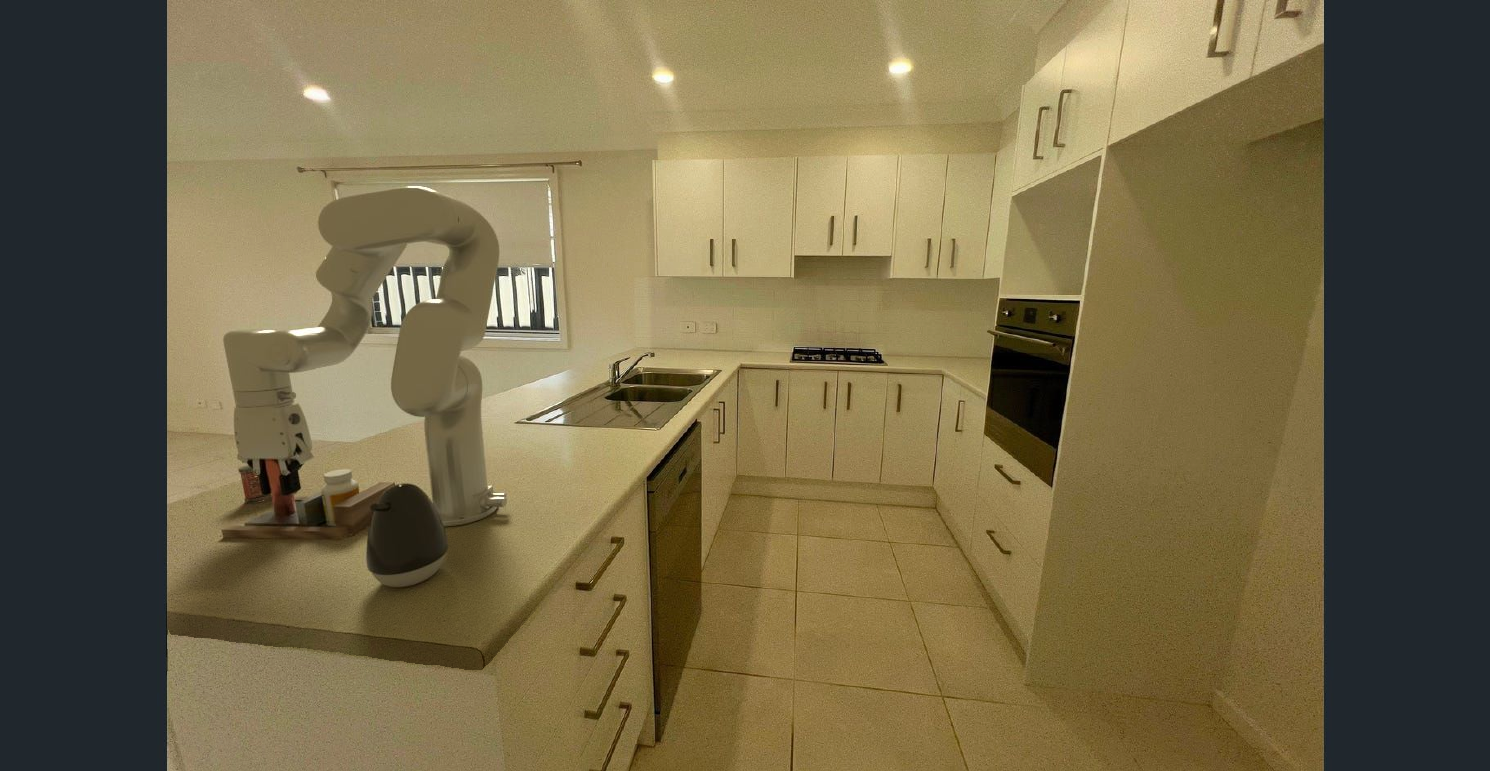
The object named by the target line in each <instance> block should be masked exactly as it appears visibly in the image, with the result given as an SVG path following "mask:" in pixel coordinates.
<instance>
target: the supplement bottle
mask: <svg viewBox="0 0 1490 771" xmlns="http://www.w3.org/2000/svg"><path fill="white" fill-rule="evenodd" d="M352 478H353V473H352V469H348V468H342V469H335V470H331V471H328V472H326V473H324V474H323V481H324V483H325V484H324V485H323V486H322V487H321V491H320V492H321V494H322V500H323V506H324V511H325V518H326V521H325V522H326V524H327V525H328V527H336V522H335V516H334V509H333V506H335V505H337V504H339V503H341V502H343V501H345V500H347V499H348V498H350V497H352V496H354V495H356V494H358V493H360V487H359V482H358V481H357V480H356V479H352Z"/></svg>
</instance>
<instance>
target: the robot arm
mask: <svg viewBox="0 0 1490 771" xmlns="http://www.w3.org/2000/svg"><path fill="white" fill-rule="evenodd" d="M317 227H318V231H319V233H320V235H321V237H322V239H323V240H324V241H325V242H326V243H327V244H328V245H330V246H332V247H331V248H330V249H329V251H328V253H327V254H326V256H325V257H324V259H323V261H322V262H321V264H319V266H318V268H317V270H316V272H315V277H316V280H317V282H318V283H319V284H320V285H321V286H322V287H323V288H325V289H326V290H327V291H329V292H330V294H331V304H330V306H329V309H328V311H327V312H326V314H325V315H324V317H323V318H322V319H321V321H320V322H319V324H318V325H317V326H314V327H303V328H295V329H294V328H293V329H286V330H285V329H284V330H278V331H277V330H274V329H260V328H259V329H258V328H256V329H238V330H231V331H228V332H227V333H225V334H224V336H223V340H222V341H223V347H224V351H225V352H224V353H225V357H226V363H227V367H228V373H229V377H230V383H231V388H232V393H233V398H234V403H235V407H234V410H233V431H234V432H233V434H234V439H235V440H234V441H235V445H236V450H237V455H236V458H237V459H238V460H239V461H241V463H242V462H244V463H243V464H247V465H249V466H250V467H251V468H252V469H253V472H254V474H256V475H258V477H259V483H260V488H261V493H262V495H268V494H270V487H269V482H268V477H267V471H266V466H265V461H264V459H278V462H279V466H280V469H281V473H282V474H283V475H280V476H279V480H280V486H281V491H282V495H289V494H292V493H294V492H296V491H297V492H299V491H300V490H301V489H302V486H301V479H300V474H299V471H301V470H302V467H303V466H304V464H305V463H308V462H309V461H311V460H313V459H314V454H313V453H312V452H311V451H312V450H313V445H312V444H313V443H312V438H311V433H310V430H309V426H308V422H307V420H306V416H305V414H304V412H303V409H302V407H301V405H300V403H299V402H295V399H296V398H297V394H296V392H295V391H293V388H292V387H293V386H292V382H291V377H290V374H296V373H302V372H307V371H312V370H316V369H320V368H325V367H326V368H327V367H332V366H335V365H338V364H340V363H342V362H344V361H345V360H347V359H348V358H349V357H350V356H351V355H352V354H354V352H355V351H356V350H357V347H359V345H360V343H361V342H362V341H363V338H364V337H365V336H366V334H367V332H368V331H369V328H370V326H371V322H372V315H373V298H374V297H375V295H376V293H377V291H378V290H379V289H380V288H381V285H382V284H383V282H384V281H385V280H386V278H387V276H388V275H389V274H390V273H391V270H392V269H393V268H394V266H395V264H396V263H397V262H398V260H399V258H400V257H401V255H402V254H403V253H404V251H405V249H406V248H407V246H408V244H414V243H423V242H425V243H429V244H430V243H431V244H435V245H442V246H445V247H447V248H448V250H449V253H448V256H447V258H446V260H445V262H444V264H443V267H442V269H441V273H440V277H439V285H438V290H437V294H436V296H435V299H427V300H423V301H421V302H419V303H417V304H415V305H413V306H412V307H411V308H410V309H409V310H408V311H407V312H406V314H405V316H404V317H403V319H402V322H401V324H400V328H399V331H398V332H399V333H398V337H397V342H396V343H397V344H396V348H395V355H394V359H393V360H394V361H393V366H392V371H391V378H390V389H391V390H390V391H391V396H392V399H393V400H394V402H395V405H397V407H398V408H399V409H401V410H402V411H403V412H404V413H405V414H408V415H410V416H413V417H418V418H424V422H423V425H424V428H423V429H424V431H423V432H424V439H425V449H426V458H427V466H428V474H429V482H430V490H431V499H432V500H431V501H432V503H433V505H434V506H435V508H436V510H437V512H438V514H439V516H440V518H441V521H442V523H443V526H444V527H454V526H460V525H466V524H470V523H473V522H476V521H479V520H481V519H484V518H486V517H488V516H490V515H492V514H493V513H494V512H495V511H496V510H497V508H506V506H507V503H508V499H507V493H505V492H502V493H501V492H498V493H496V492H495V491H494V485H488V477H487V467H486V457H485V447H484V432H483V421H482V418H483V417H482V398H483V379H482V375H481V372H480V370H479V368H478V366H477V365H476V364H475V363H474V362H473V361H472V360H471V359H470V358H467V357H465V356H463V355H461V352H464V351H468V350H470V349H473V348H475V347H476V346H478V345H479V344H480V343H481V342H482V341H483V340H484V337H485V336H486V331H487V325H488V320H489V315H490V310H491V304H492V299H493V294H494V293H493V292H494V287H495V281H496V276H497V272H498V268H499V263H500V262H499V260H500V244H499V240H498V236H497V234H496V231H495V229H494V228H493V227H492V225H491V223H489V221H488V220H487V219H486V218H485V216H483V215H482V214H481V213H480V212H478V211H477V210H476V208H475V209H474V207H472V206H470V205H469V204H467V203H466V202H463V201H461V200H459V199H456V198H455V197H452V196H450V195H446V194H444V193H442V192H439V191H436V190H434V189H431V188H428V187H424V186H413V185H412V186H402V187H394V188H389V189H384V190H377V191H372V192H365V193H361V194H360V193H359V194H355V195H348V196H343V197H340V198H337V199H334V200H331V202H328V203H327V204H326V205H325V206H324V207H323V208H322V209H321V211H320V213H319V216H318V220H317ZM288 460H290V461H291V463H290V464H289V465H288ZM297 492H296V493H297ZM294 494H295V493H294Z"/></svg>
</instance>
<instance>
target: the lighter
mask: <svg viewBox="0 0 1490 771" xmlns="http://www.w3.org/2000/svg"><path fill="white" fill-rule="evenodd" d="M241 463H242V464H245V463H244V462H242V461H241ZM290 463H291V461H290V460H288V465H289V464H290ZM237 470H238V473H239V474H240V477H241V478H240V479H241V484H242V488H243V493H244V504H245V503H252V504H256V503H255V502H257V503H260V502H259V501H262V502H264V501H263V500H267V501H271V500H272V498H271V493H270V494H268V495H262V493H261V488H260V483H259V477H258V475H256V474H254V472H253V469H252V468H251V467H250V466H249V465H248V464H247V465H243V466H240V467H238V469H237ZM255 476H257V477H255ZM297 492H298V491H296V492H294V493H293V494H294V495H295V494H296V493H297ZM270 499H271V500H270Z"/></svg>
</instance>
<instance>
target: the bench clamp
mask: <svg viewBox="0 0 1490 771" xmlns="http://www.w3.org/2000/svg"><path fill="white" fill-rule="evenodd" d="M394 485H396V483H395V482H388V481H387V482H386V481H385V482H381V481H379V482H377V483H376V484H374V485H371V486H370V487H368V488H366V489H364V490H363V491H361V492H360V491H359V493H358V494H356V495H354V496H352V497H350V498H348V499H347V500H345V501H343V502H341V503H339V504H337V505H335V506H333V509H334V516H335V522H336V526H315V527H288V526H245V525H229V526H227V527H225V528H222V529H221V535H222V537H223V539H225V538H226V539H229V538H230V539H231V538H232V539H238V538H239V539H240V538H241V539H289V540H290V539H294V540H295V539H297V540H299V539H301V540H302V539H303V540H306V539H307V540H343V539H345V538H346V537H348V536H355V535H357V534H359V533H360V532H361V531H364V530H365V529H366V528H369V527H370V522H371V518H372V515H373V512H374V511H371V510H370V506H371V505H372V504H374V503H377V502H378V500H379V498H380V497H381V495H382V494H383V493H384V492H385V491H386V490H387V489H388V488H390V487H392V486H394ZM308 497H309V496H295V495H294V499H295V502H300V501H302V500H304V499H306V498H308Z"/></svg>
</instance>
